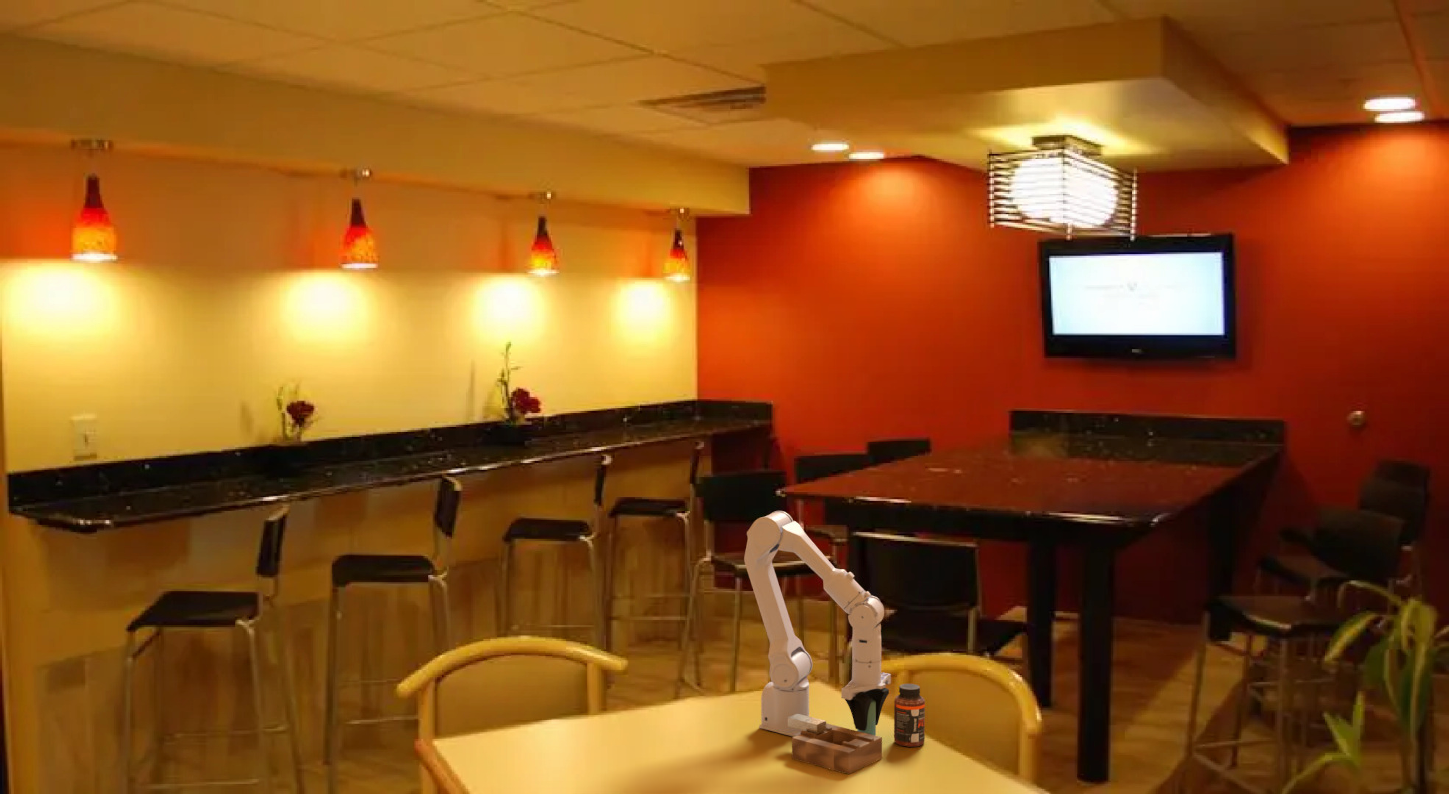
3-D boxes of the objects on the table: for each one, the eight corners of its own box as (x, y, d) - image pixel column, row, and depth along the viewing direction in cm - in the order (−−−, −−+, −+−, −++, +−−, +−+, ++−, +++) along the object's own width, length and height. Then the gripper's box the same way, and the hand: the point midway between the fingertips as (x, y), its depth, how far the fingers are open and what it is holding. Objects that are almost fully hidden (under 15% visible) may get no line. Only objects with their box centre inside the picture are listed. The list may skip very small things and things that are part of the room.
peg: (853, 736, 248) (853, 702, 247) (864, 732, 251) (864, 697, 250) (868, 740, 246) (869, 705, 245) (879, 736, 248) (879, 701, 248)
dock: (792, 758, 237) (791, 735, 237) (826, 743, 245) (826, 720, 245) (848, 774, 229) (848, 750, 228) (881, 758, 237) (881, 734, 237)
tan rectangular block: (787, 726, 242) (787, 717, 242) (797, 722, 245) (797, 713, 245) (817, 734, 238) (817, 724, 238) (826, 730, 240) (826, 720, 240)
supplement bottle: (924, 749, 242) (924, 691, 241) (893, 747, 243) (893, 690, 242) (925, 739, 248) (925, 682, 247) (895, 737, 249) (895, 681, 248)
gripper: (862, 670, 239) (862, 740, 240) (903, 655, 250) (903, 721, 251) (832, 664, 244) (832, 732, 244) (874, 649, 255) (874, 714, 255)
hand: (866, 726), depth 248 cm, fingers closed on peg, 4 cm apart
